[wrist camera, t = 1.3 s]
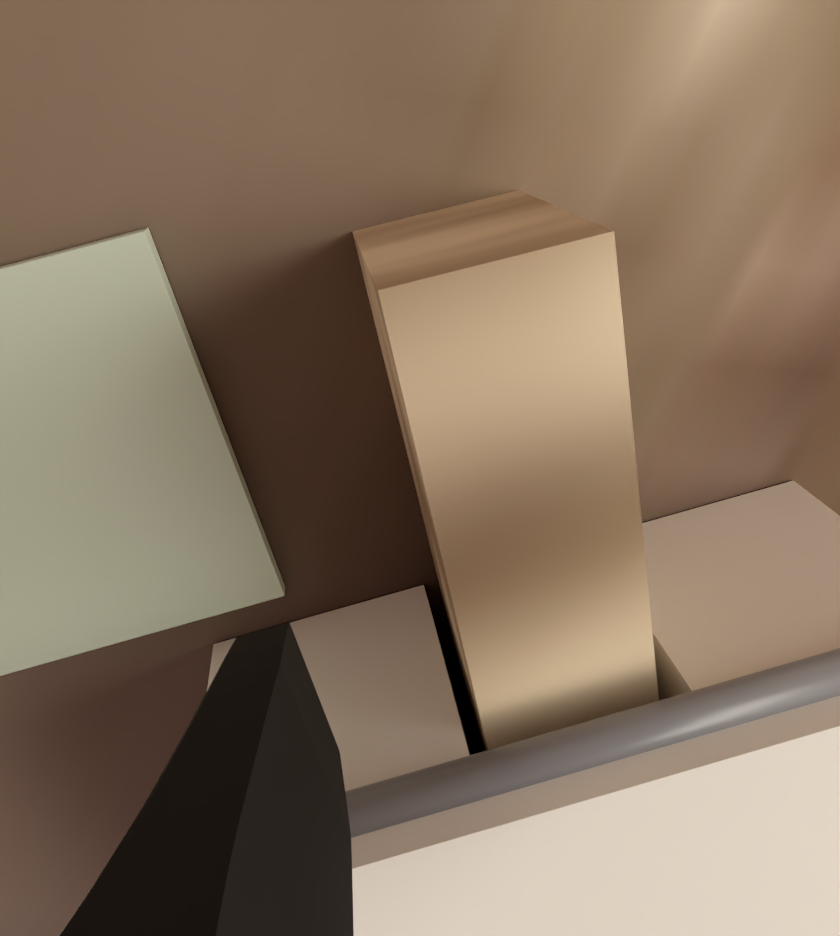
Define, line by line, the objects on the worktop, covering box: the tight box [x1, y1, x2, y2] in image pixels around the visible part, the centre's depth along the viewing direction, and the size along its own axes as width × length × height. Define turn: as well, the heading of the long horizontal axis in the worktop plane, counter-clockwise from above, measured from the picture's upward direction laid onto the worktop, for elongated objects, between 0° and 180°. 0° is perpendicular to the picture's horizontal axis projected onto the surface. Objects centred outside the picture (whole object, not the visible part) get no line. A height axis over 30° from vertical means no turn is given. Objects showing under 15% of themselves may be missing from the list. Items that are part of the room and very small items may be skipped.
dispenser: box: [207, 481, 840, 936], centre depth 17 cm, size 10×14×7 cm
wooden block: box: [352, 190, 659, 751], centre depth 15 cm, size 10×3×5 cm, turn 12°
